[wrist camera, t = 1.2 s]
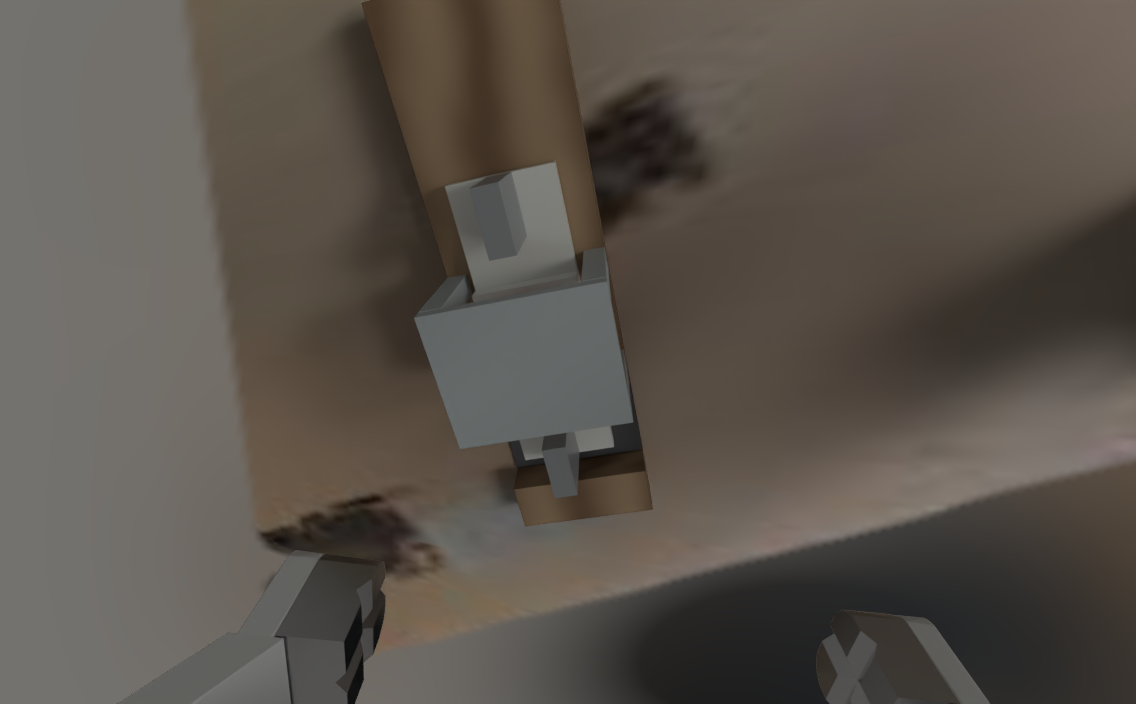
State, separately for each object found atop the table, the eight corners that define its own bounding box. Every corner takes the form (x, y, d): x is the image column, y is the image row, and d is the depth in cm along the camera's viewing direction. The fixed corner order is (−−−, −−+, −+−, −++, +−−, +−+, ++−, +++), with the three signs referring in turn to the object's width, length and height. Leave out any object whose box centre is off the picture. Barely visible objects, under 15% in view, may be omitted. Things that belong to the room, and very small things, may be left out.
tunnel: (604, 246, 35) (606, 280, 29) (626, 367, 39) (633, 423, 32) (447, 277, 37) (413, 317, 30) (482, 391, 40) (460, 449, 34)
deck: (553, -35, 32) (549, -49, 29) (649, 486, 47) (652, 509, 44) (380, 11, 33) (361, 3, 30) (529, 502, 49) (525, 526, 46)
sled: (555, 160, 33) (548, 171, 28) (613, 439, 42) (616, 489, 36) (448, 184, 34) (421, 199, 29) (526, 452, 42) (516, 503, 37)
